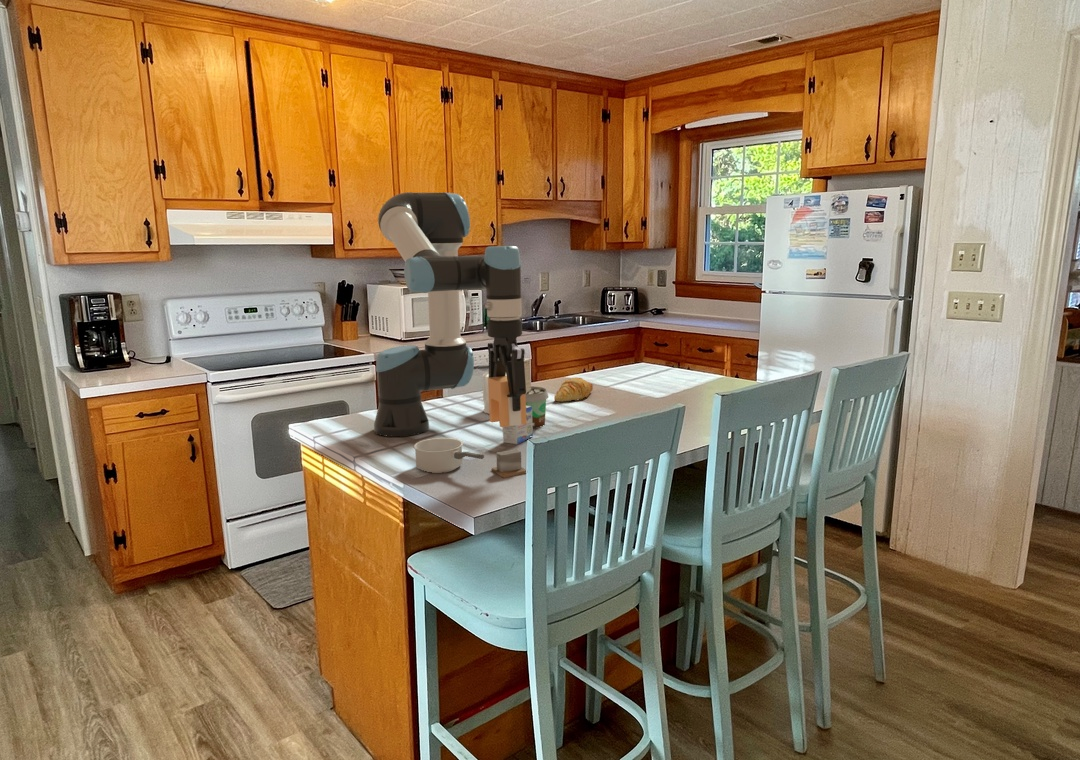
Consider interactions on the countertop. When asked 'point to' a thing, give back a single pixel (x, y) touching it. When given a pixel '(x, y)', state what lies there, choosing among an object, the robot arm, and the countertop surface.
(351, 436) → the countertop surface
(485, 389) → the white squeeze bottle
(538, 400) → the food container
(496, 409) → the tall orange brick
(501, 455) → the sponge on coaster
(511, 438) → the medicine box
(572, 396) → the croissant
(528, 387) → the supplement box
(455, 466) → the saucepan
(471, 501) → the countertop surface
